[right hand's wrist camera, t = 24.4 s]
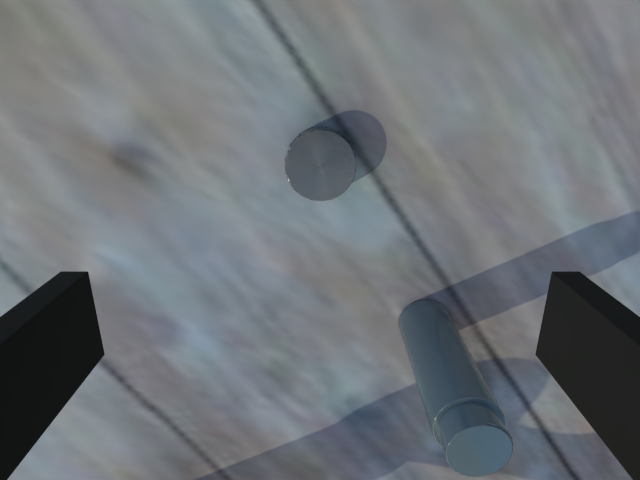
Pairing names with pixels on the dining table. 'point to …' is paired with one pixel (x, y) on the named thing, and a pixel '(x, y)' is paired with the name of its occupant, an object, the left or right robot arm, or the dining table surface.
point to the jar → (454, 392)
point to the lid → (320, 164)
